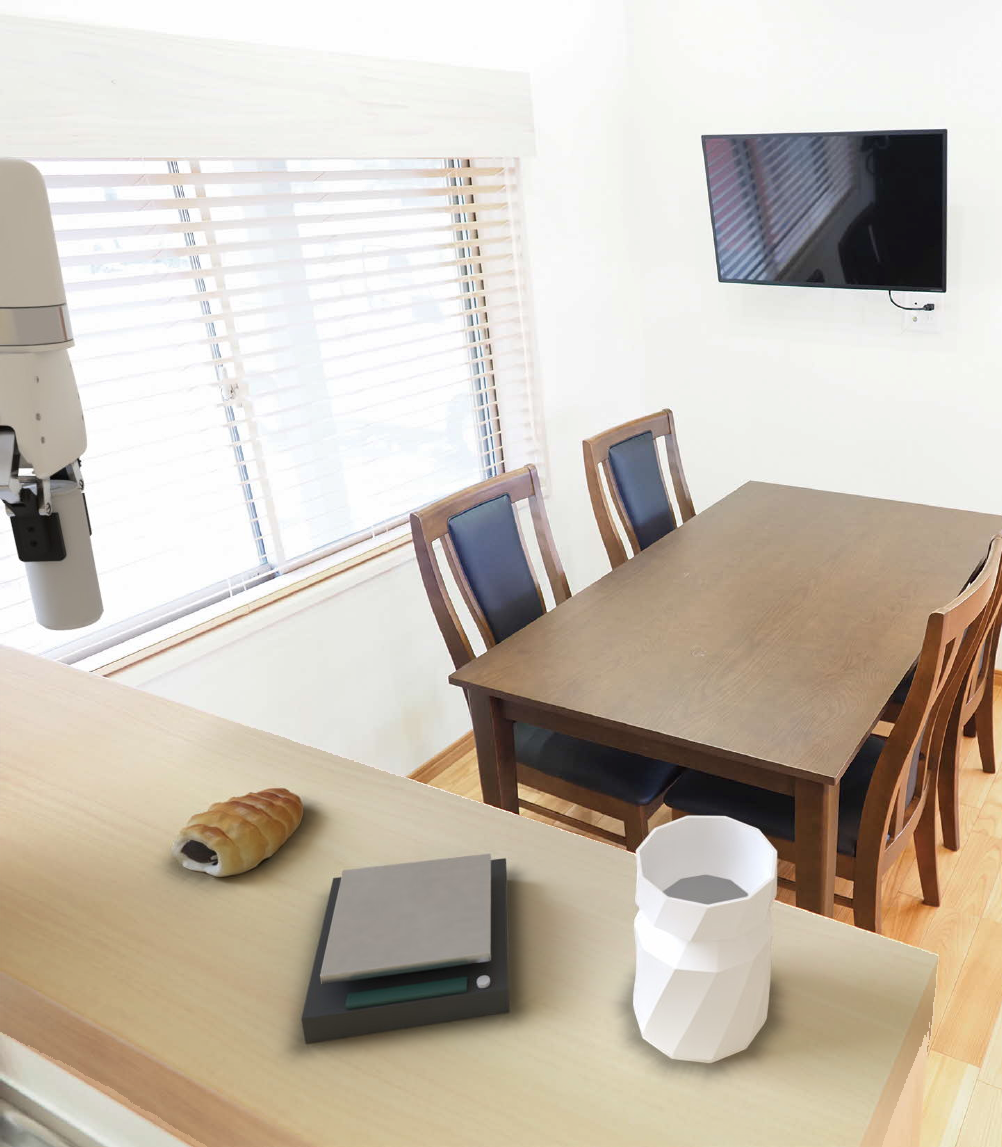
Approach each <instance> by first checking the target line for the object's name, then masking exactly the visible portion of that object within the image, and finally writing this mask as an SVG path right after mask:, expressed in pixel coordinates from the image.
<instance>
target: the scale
mask: <svg viewBox="0 0 1002 1147" xmlns="http://www.w3.org/2000/svg"><path fill="white" fill-rule="evenodd" d="M341 877H342V876H339V877H333V878H332V880H331V881H332V882H331V886H330V891H329V895H328V899H327V904H326V908H325V912H324V917H323V921H322V926H321V930H320V935H319V939H318V944H317V948H316V953H315V956H314V962H313V965H312V970H311V975H310V978H309V984H308V987H307V992H306V996H305V1001H304V1005H303V1009H302V1014H301V1017H300V1020H301V1026H302V1033H303V1039H304V1044H305V1045H309V1044H316V1043H322V1042H327V1041H328V1042H329V1041H334V1040H340V1039H341V1040H342V1039H348V1038H354V1037H355V1038H356V1037H361V1036H367V1035H374V1034H380V1033H387V1032H393V1031H401V1030H406V1029H414V1028H419V1027H427V1026H434V1025H440V1024H447V1023H453V1022H458V1021H465V1020H473V1019H479V1018H485V1017H491V1016H498V1015H505V1014H509V1013H510V1012H511V1011H510V1010H511V1009H510V1008H511V1007H510V1006H511V1005H510V1001H511V1000H510V959H509V957H510V956H509V955H510V954H509V952H510V951H509V910H508V909H509V908H508V907H509V906H508V903H509V902H508V901H509V900H508V871H507V859H506V858H505V857H504V858H503V857H502V858H494V859H491V961H489V962H482V963H475V964H468V965H460V966H453V967H446V968H439V969H432V970H425V971H418V972H410V973H403V974H396V975H389V976H382V977H375V978H368V979H360V980H353V981H346V982H339V983H332V984H325V985H322V984H321V978H320V974H321V969H322V965H323V960H324V955H325V951H326V946H327V941H328V937H329V932H330V928H331V923H332V918H333V914H334V909H335V904H336V900H337V895H338V890H339V886H340V881H341Z"/></svg>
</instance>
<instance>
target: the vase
mask: <svg viewBox="0 0 1002 1147" xmlns="http://www.w3.org/2000/svg"><path fill="white" fill-rule="evenodd" d="M635 858H636V868H637V869H636V872H637V873H636V885H635V886H636V887H635V896H634V903H635V904H636V905H637V907H638V908H639V909H638V912H637V914H636V915H635V918H634V920H633V931H634V940H635V941H634V942H635V955H636V962H635V963H636V964H635V977H634V978H635V979H634V986H633V995H632V1006H633V1011H634V1014H635V1018H636V1020H637V1024H638V1027H639V1031H640V1034H641V1037H642V1039H643V1040H645V1041H646V1042H647V1043H649V1044H650V1045H651V1046H653V1047H654V1048H656V1049H657V1050H659V1051H660V1052H661V1053H663V1054H664V1055H666V1056H667V1057H668V1058H669V1059H671V1060H679V1061H687V1062H696V1063H703V1064H712V1063H713V1064H714V1063H715V1062H717V1061H720V1060H723V1059H725V1058H727V1057H730V1056H733V1055H734V1054H735V1055H736V1054H737V1053H741V1052H742V1051H745V1050H747V1048H748V1047H749V1046H750V1044H751V1043H752V1042H753V1040H754V1039H755V1037H756V1036H757V1035H758V1033H759V1032H760V1030H761V1029H762V1028H763V1026H764V1025H765V1023H766V1021H767V1018H768V1009H769V1003H770V1002H769V1001H770V990H771V974H772V973H771V972H772V946H773V938H774V930H773V921H772V913H771V912H772V911H771V908H772V906H773V904H774V901H775V899H776V897H777V895H778V894H777V892H778V891H777V890H778V850H777V849H776V848H775V847H774V845H773V844H772V843H771V842H770V841H769V839H768V838H767V837H766V836H765V835H764V833H762V831H761V830H760V829H759V828H757V827H755V826H752V825H749V824H747V823H744V822H742V821H739V820H737V819H735V818H732V817H729V816H726V815H685V816H683V817H680V818H677V819H675V820H672V821H670V822H669V821H668V822H667V823H663V824H661V825H659V826H656V827H653V829H652V830H651V831H650V833H649V834H648V835H646V837H645V839H643V841H642V842H641V843H640V845H639V846H638V847H637V848H636V850H635Z"/></svg>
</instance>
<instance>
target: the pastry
mask: <svg viewBox="0 0 1002 1147" xmlns="http://www.w3.org/2000/svg"><path fill="white" fill-rule="evenodd" d="M301 799H302V798H301V797H300V796H299V795H298V794H295V793H293V792H291V791H290V790H288V789H287V788H285V787H271V788H266V789H262V790H260V791H257V792H251V791H250V792H248V793H247V794H245V795H242V796H232V797H229V799H227V801H224V802H221V801H220V802H214V803H212V804H211V805H210V806H209V807H208V809H207V810H206V811H204V812H201V813H196V814H194V815H192V816H191V818H190V819H189V820H188V821H187V823H186V826H185V827H183V828H181V829H180V831H179V833H178V834H177V836H176V837H175V838H174V840H173V844H172V845H171V847H170V851H171V856H172V857H173V859H175V860H177V861H178V862H179V864H180V865H182V867H183V868H185V869H187V870H189V871H194V872H195V871H196V872H200V873H207V875H211V876H214V877H218V878H219V877H230V876H234V875H241V874H243V873H246V872H248V871H250V870H252V869H255V868H257V866H259V864H260V863H261V862H262V861H263V860H265V859H270V857H272V856H273V855H274V854H275V853H276V852H277V851H279V849H280V847H281V846H283V845H284V844H285V843H286V841H287V840H288V839H289V838H290V837H291V836H292V835H293V834H294V833H295V831H296V830H297V829H298V827H299V826H300V824H301V822H302V819H303V816H304V805H303V802H302V800H301Z"/></svg>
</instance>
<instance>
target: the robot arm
mask: <svg viewBox="0 0 1002 1147" xmlns="http://www.w3.org/2000/svg"><path fill="white" fill-rule="evenodd" d="M54 228H55V227H54V222H53V217H52V211H51V206H50V200H49V194H48V190H47V185H46V182H45V178H44V176H43V174H42V172H41V171H40V169H38V167H37V166H36V165H34V164H33V163H31V162H29V161H27V160H24V159H22V158H21V159H20V158H16V157H8V156H1V155H0V500H1V501H2V503H3V504H4V508H5V514H6V515H7V516H8V518H9V521H10V525H11V530H12V533H13V539H14V544H15V548H16V552H17V557H18V560H19V561H20V562H23V563H24V562H48V561H62V560H64V559H65V558H66V556H67V554H66V549H65V544H64V539H63V534H62V528H61V523H60V518H59V513H58V512H52V501H51V488H50V480H67V481H73V482H76V483H78V485H79V488H78V489H79V490H81V492H82V495H83V500H84V506H85V511H86V516H87V522H88V527H89V533H90V537H91V536H92V535H93V531H92V526H91V520H90V515H89V509H88V503H87V500H86V493H85V492H84V490H85V481H84V478H83V474H82V471H81V467H82V460H81V459H80V458H81V457H82V456H83V455H84V454H85V453H86V450H87V447H88V437H87V430H86V423H85V416H84V413H83V407H82V402H81V397H80V394H79V388H78V384H77V381H76V377H75V373H74V369H73V365H72V361H71V358H70V354H69V351H68V349H71V348H74V347H75V346H76V343H75V338H74V333H73V328H72V322H71V316H70V312H69V305H68V301H67V300H68V299H67V294H66V289H65V284H64V278H63V273H62V267H61V263H60V256H59V251H58V244H57V240H56V233H55V229H54ZM20 469H33V470H32V471H31V475H19V472H20ZM25 483H36V489H37V496H36V495H35V494H34V493H33V492H32V490H31V489H29V488H23V487H22V484H25Z"/></svg>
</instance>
